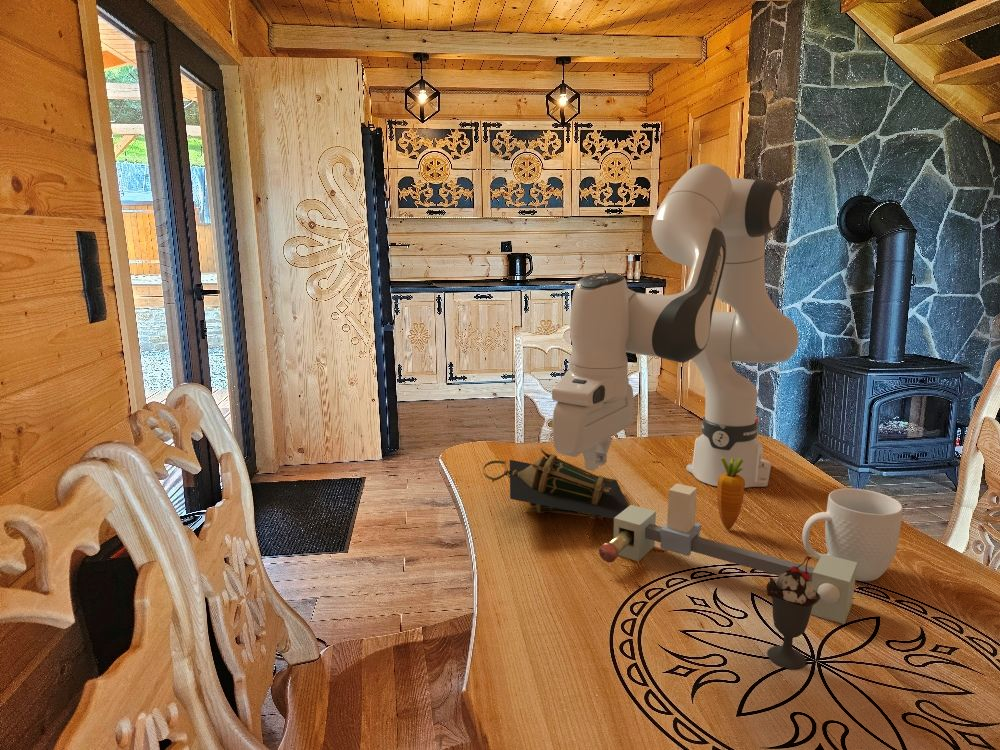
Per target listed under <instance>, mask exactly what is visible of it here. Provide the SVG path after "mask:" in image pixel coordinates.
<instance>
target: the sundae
mask: <svg viewBox="0 0 1000 750" xmlns="http://www.w3.org/2000/svg"><path fill="white" fill-rule="evenodd" d="M811 559H812V556H809V555H808V556H807V555H806V556H805V559H804V561H803V562H802V563H800V564H801V565H806V569H805V570H806V572H802V573H800V569H799V567H800V566H801V565H799V566H798V567H796V566H793V567H791V569H790V570H787V571H784V572H783V573H782V574H780V575H779V576H778V575H777V579H776V578H775V579H774V578H772V577H770V576H769V579H768V580H769V582H767V583H766V586H765V587H766V593H767V596H768V597H771V604H772V606H771V607H772V618H773V624H774V625H773V626H774V627H775V628H776V629H777V631H778V632H779V633H780V635H781V634H782V636H783V642H782V645H774V646H771V647H769V649H768V650H767V653H766V654H767V658H769V660H770V661H771V662H772V663H773V664H775V665H777V666H778V667H780V668H785V669H789V670H799V669H802V668H803V667H805V666H806V665H807V659H806V657H805V656H804V654H803V653H802V652H800V651H799V650H797V649H795V648H793V641H794V638H798V637H800V636H802V635H803V634H804V633H805V631H806V629H807V627H808V624H809V621H810V617H811V610H812V607H813V605H814V604H816V603H817V602H818V601H819V599H820V595H819V594H818V593H817V592H816V591H815V587H814V585H813V584H812V583H811V582H810V581H809V579H810V574H809V573H808V572H807V566H808V564H809V560H811ZM805 562H806V564H804V563H805Z"/></svg>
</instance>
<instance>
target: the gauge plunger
mask: <svg viewBox="0 0 1000 750" xmlns="http://www.w3.org/2000/svg"><path fill="white" fill-rule="evenodd" d="M633 540H634V531H631V530H627V529H624V530H623V531H622V532H621V533H620V534H618V535H617V536H616V537H615V538H614V539H613V538H612V539H611V540H610V541H609V542H604V543H603V544H601V545H600V546H599V548H598V555H599V556H600V558H601V559H602V560H603V561H604V562H607V563H614V561H616V559H618V556H619V555H618V553H620V552H621V551H622V550H623V549H624V548H625V547H626V546H627V545H629V544H630V543H631V542H632V541H633Z"/></svg>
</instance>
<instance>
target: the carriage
mask: <svg viewBox="0 0 1000 750" xmlns="http://www.w3.org/2000/svg"><path fill="white" fill-rule="evenodd" d="M697 493H698V488H697V487H694V486H690V485H685V484H682V483H676V484H674V485H673V486H672V487H671V488H669V489H668V502H667V503H668V505H667V522H666V523H665V524H664V526H661V527H662V528H661V529H660V536H661V542H660V549H662V550H664V551H665V550H666V551H668V552H669V551H670V552H671V553H676V554H680V555H683V556H686V557H690V555H691V553H692V551H691V540H692V539H693V538H694V537H695V536H698V537H700V534H701V533H700V532H701V530H702V523H699V522H696V513H697V512H696V511H697V510H696V508H697Z"/></svg>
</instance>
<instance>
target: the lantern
mask: <svg viewBox="0 0 1000 750" xmlns="http://www.w3.org/2000/svg"><path fill="white" fill-rule="evenodd" d="M540 451H541V453H542V454H543V455H544V456H541V457H540V458H539V459H538V460H536V461H534V462H533V463H529V462H523V461H518V460H513V459H509V470H508V465H507V461H506V459H504V460H492V461H491V460H490V461H488V462H487V463H486V464H485V465H484V466H483V467H482V473H483V475H484V476H485V478H486V479H488V480H491V483H494V482H495V481H498V480H500V479H502V478H504V477H505V476H507V477H508V478H509V500H512V501H513V500H514V501H517V502H518V501H520V502H524V503H529V507H531V508H527V509H526V510H525V513H528V512H531V511H534V512H536V513H538V514H545V512H547V513H557V514H566V515H574V516H575V515H576V516H583V517H589V519H590V518H591V519H596V518H599V519H600V520H601V521H603V520H604V517H605V518H609V519H613V520H614V518H615V517H616V516H617V515H618V514H620V513H621V512H622V511H624V510H625V509H626V508H627V507H629V505H628V503H627V500H626V499H625V496H624V494H623V492H622V490H621V487H620V485H619V482H618V480H617V479H614V478H608V477H604V476H602V475H596V474H593V473H592V472H589V471H588V470H586V469H583V468H582V467H579V466H576V465H574V464H572V463H569V462H567V461H565V460H562V459H560V458H558V456H557V455H554V454H551V453H547V452H546V451H545V450H544V449H543V448H542V447H541V448H540ZM493 464H500V465H501V464H502V465H504V466H505V470H504V472H503V474H501V475H499V476H497V477H492V476H490V475H488V474H487V473H486V472H485V468H486V467H487V466H489V465H493Z"/></svg>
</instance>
